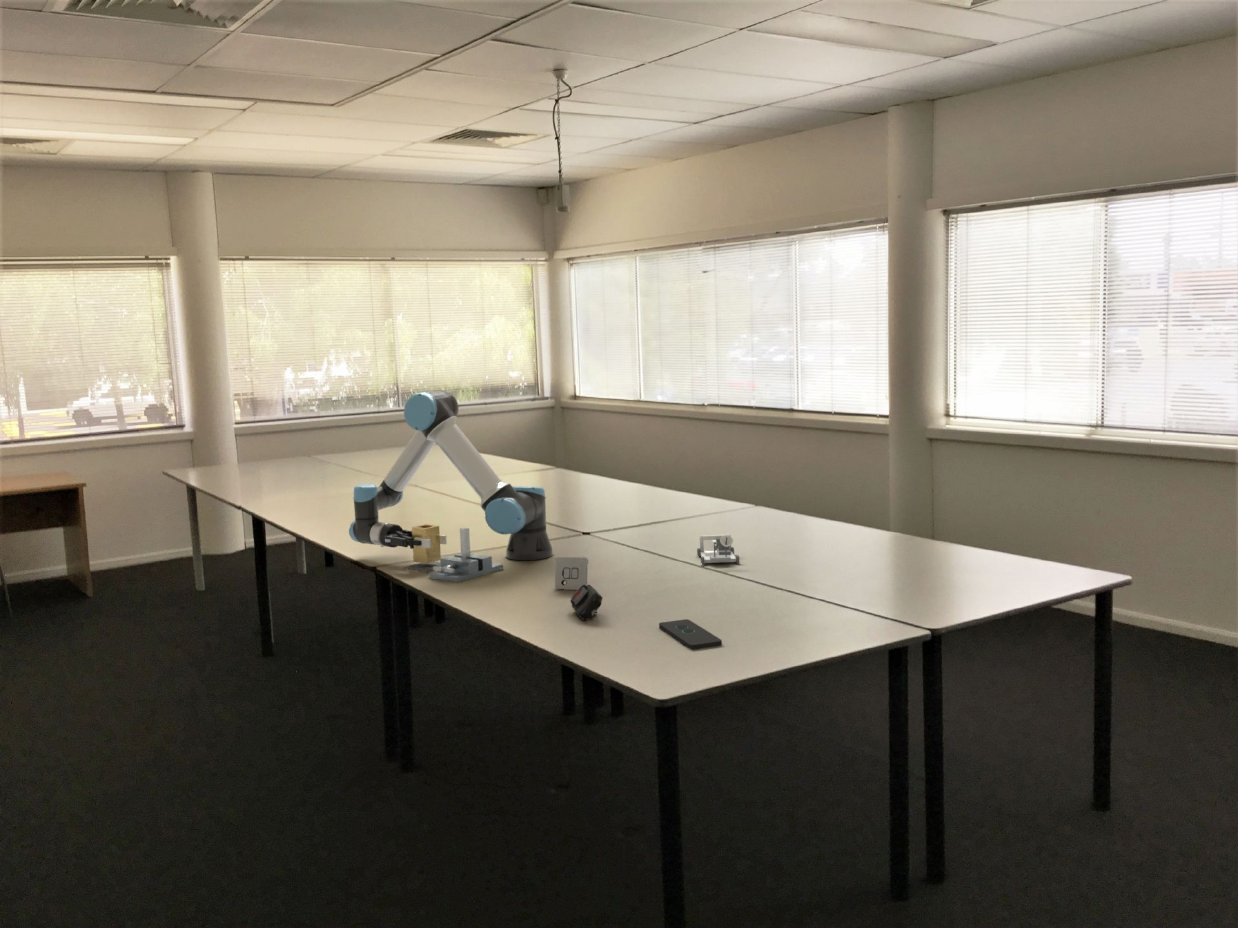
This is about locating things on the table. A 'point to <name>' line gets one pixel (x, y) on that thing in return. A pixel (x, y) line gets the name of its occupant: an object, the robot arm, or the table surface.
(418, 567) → the rubber mat
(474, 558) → the vise
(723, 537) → the grey toy rover
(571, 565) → the electrical switch
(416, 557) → the brass sleeve
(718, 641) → the smart home device
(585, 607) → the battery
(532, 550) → the robot arm
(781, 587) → the table surface
